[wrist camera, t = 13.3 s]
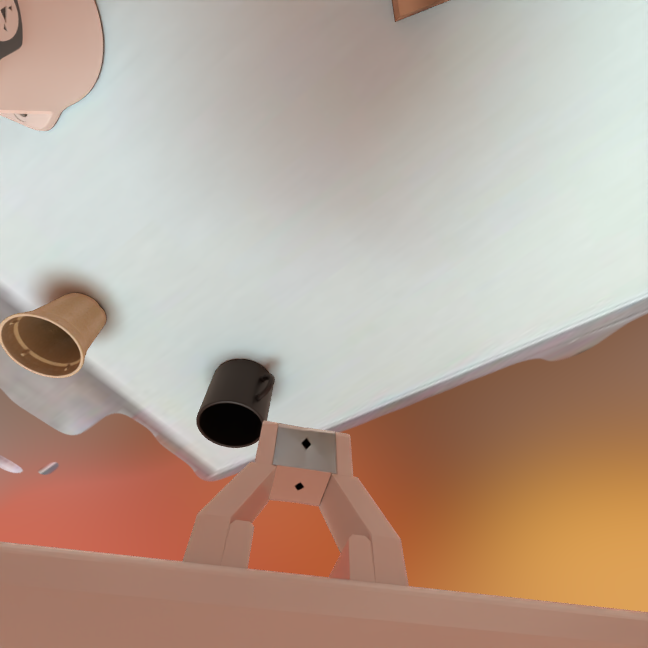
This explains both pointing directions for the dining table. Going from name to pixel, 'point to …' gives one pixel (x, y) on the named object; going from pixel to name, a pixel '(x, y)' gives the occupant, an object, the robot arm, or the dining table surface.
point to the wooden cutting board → (412, 7)
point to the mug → (236, 404)
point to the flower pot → (53, 335)
